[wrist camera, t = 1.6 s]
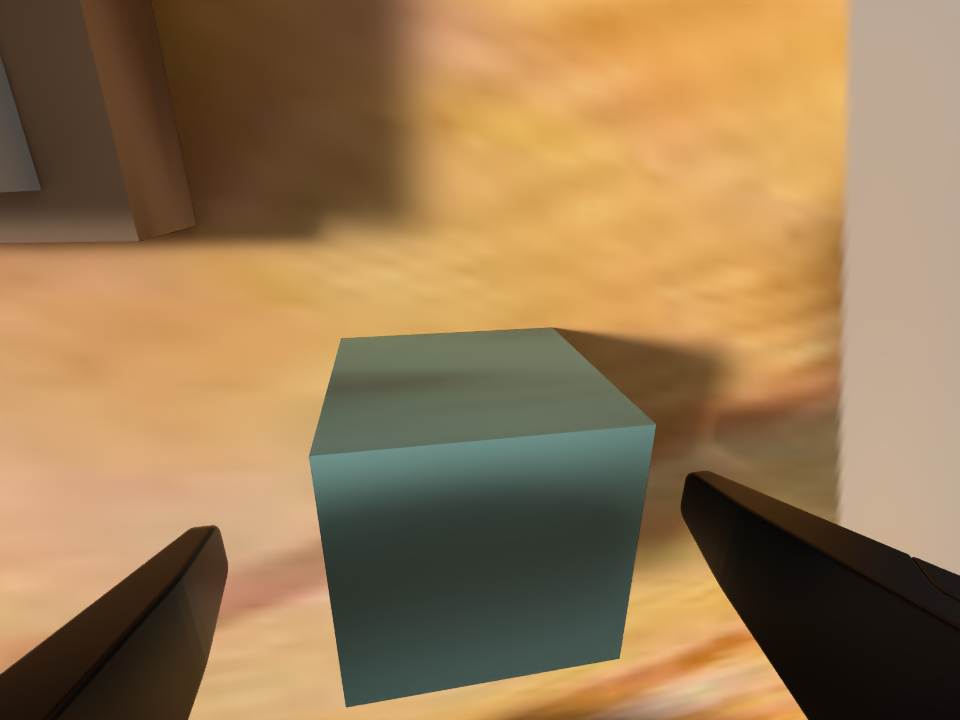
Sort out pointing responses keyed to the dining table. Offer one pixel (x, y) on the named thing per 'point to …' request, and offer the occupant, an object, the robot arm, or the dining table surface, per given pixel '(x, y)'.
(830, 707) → the robot arm
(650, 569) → the dining table surface
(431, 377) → the teal block
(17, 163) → the grey slab
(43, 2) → the walnut slab
